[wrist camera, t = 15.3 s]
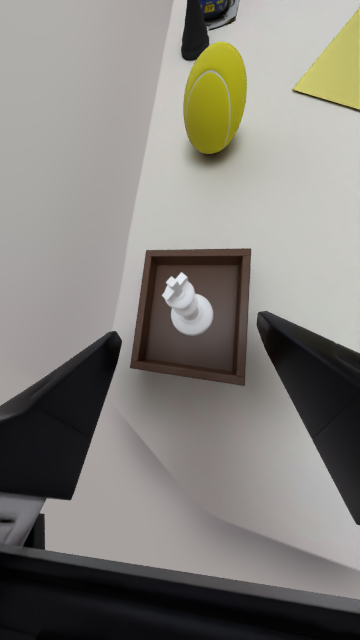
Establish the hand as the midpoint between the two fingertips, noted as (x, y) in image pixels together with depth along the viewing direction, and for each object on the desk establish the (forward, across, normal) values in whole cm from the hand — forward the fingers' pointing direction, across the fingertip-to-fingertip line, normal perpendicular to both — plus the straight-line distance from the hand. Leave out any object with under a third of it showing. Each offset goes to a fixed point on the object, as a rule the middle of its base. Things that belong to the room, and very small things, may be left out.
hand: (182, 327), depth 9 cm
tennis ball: (+24, -6, -12) cm, 28 cm away
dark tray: (+8, 0, +4) cm, 9 cm away
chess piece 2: (+7, 0, +4) cm, 8 cm away
